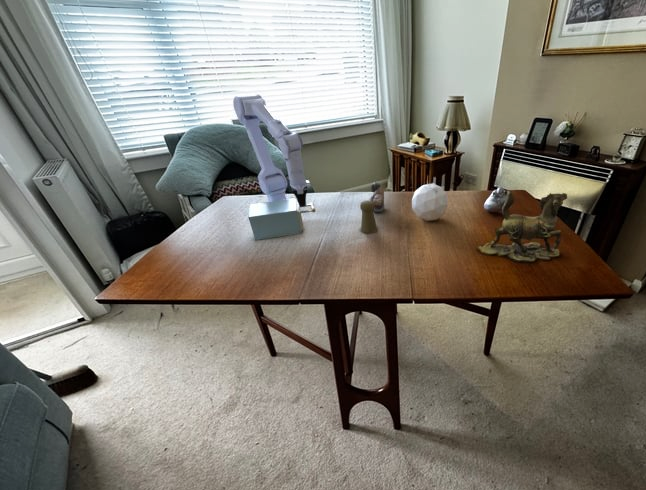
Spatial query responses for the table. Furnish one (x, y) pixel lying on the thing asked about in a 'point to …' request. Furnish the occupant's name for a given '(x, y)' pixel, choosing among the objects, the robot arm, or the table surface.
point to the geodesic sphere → (429, 202)
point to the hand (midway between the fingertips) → (302, 206)
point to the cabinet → (274, 219)
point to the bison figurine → (377, 197)
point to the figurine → (528, 232)
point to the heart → (496, 200)
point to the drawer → (303, 212)
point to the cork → (368, 217)
